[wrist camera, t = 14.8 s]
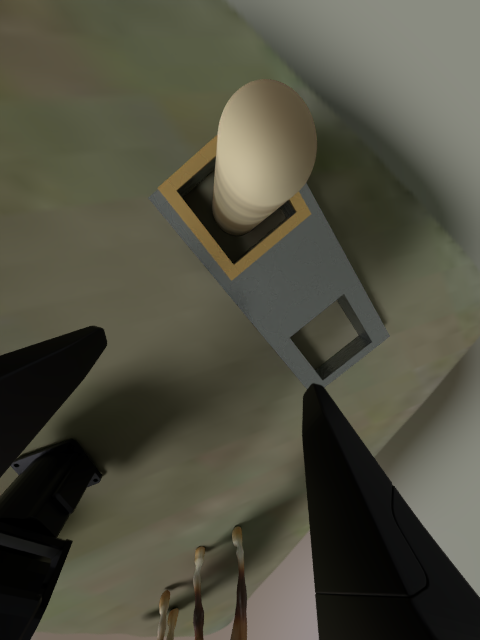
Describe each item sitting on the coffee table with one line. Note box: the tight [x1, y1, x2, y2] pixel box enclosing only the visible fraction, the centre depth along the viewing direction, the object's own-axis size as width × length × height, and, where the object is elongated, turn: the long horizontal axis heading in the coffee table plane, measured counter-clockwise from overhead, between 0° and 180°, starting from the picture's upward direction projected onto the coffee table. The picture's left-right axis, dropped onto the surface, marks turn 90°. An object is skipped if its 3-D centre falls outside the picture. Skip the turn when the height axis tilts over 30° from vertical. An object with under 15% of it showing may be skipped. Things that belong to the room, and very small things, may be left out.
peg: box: [212, 79, 317, 236], centre depth 13 cm, size 4×4×10 cm
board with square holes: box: [149, 135, 390, 389], centre depth 19 cm, size 25×11×2 cm, turn 39°
